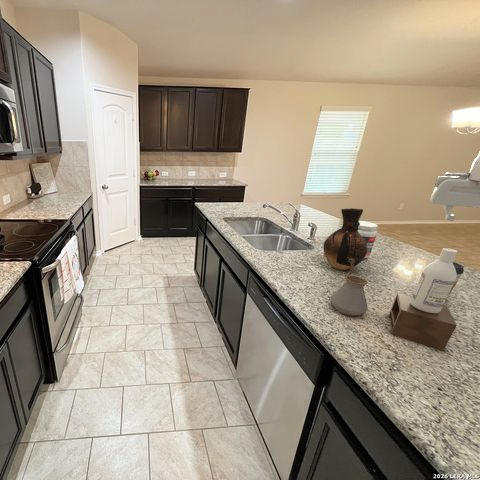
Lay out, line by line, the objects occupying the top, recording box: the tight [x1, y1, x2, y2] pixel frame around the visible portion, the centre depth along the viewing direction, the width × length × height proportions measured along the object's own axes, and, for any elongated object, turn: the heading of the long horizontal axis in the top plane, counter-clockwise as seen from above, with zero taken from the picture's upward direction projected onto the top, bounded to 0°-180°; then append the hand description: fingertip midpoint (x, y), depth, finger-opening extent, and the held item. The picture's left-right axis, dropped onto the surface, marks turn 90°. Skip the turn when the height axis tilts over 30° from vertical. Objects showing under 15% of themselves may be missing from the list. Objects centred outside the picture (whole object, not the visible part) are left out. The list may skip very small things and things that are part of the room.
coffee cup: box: [448, 261, 465, 297], centre depth 100 cm, size 8×8×15 cm
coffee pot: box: [329, 259, 369, 317], centre depth 96 cm, size 21×12×15 cm, turn 150°
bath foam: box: [410, 247, 458, 313], centre depth 77 cm, size 7×7×20 cm
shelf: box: [387, 292, 458, 352], centre depth 82 cm, size 12×12×10 cm
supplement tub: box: [358, 220, 379, 260], centre depth 138 cm, size 13×13×18 cm
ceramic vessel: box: [323, 207, 367, 271], centre depth 122 cm, size 21×18×30 cm
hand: (472, 222), depth 73 cm, fingers open, 8 cm apart
